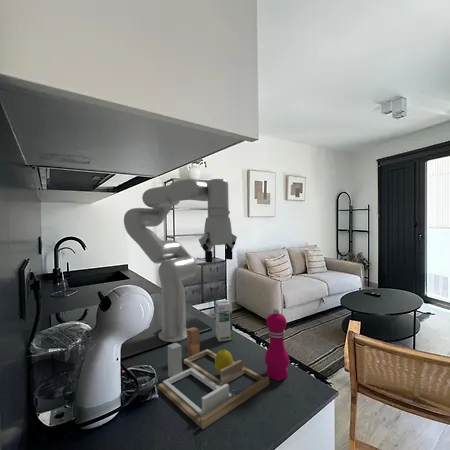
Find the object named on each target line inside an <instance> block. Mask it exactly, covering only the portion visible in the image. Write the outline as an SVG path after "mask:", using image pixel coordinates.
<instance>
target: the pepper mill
mask: <svg viewBox="0 0 450 450" xmlns="http://www.w3.org/2000/svg"><path fill="white" fill-rule="evenodd" d="M287 323H288V322H287V319H286V317H285V316H284V315H283V314H281V313H280V310H279V309H278V308H273V311H272V313H270V314H269V315H267V318H266V323H265V324H266V327H267V328H268V329H267V330H268V332H267V333H268V336H269V345H268V348H267V350H266V351H265V356H264V363H265V364H266V376H268V377H269V379H271V380H275V381H283V380H286V379H288V376H289V369H288V367H289V366H290V365H289V364H290V357H289V354H288V352H287V349H286V348H285V344H284V337H285V336H286V333H285V332H286V330H285V329H286V327H287Z"/></svg>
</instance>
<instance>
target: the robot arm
mask: <svg viewBox="0 0 450 450" xmlns="http://www.w3.org/2000/svg"><path fill="white" fill-rule="evenodd" d="M141 199H142V202H143V204H144V205H145V206H147V208H146V207H136V208H130V209H129V210H127V211H125V213H124V217H123V225H124V228H125V231H126V233H127V234H128V235H129V237H130V238H131V239H132V240H133V241H134V242H135V243H136V244H137V245H138V246H139V247H140V249H141V250H142V251H143V252H144V254H145V255H146V257H148V259H149V260H150V261H151V262H153V263H154V264H159V267H158V276H159V281H160V288H161V313H162V314H161V320H162V322H160V326H161V327H162V328H161V329H162V330H161V331H159V333H158V339H159V340H161V341H163V342H166V343H178V342H181V341H184V340H185V339H186V340H187V329H188V327H187V317H186V316H187V312H186V311H187V308H186V302H187V301H186V291H185V287H184V285H183V283H182V281H184V280H187V279H190V278H192V277H193V276H195V275H196V274H197V272H198V264H197V262H196V260H195V258H194V257H193V255H191V253H189V251H187V249H186V248H185V247H184V246H183V245H182V244H181V243H180V242H179V241H176V240H173V239H172V240H171V239H170V240H164V239H163V240H162V239H161V238H160V237H158V235H157V234H156V233H155V231H153V230H151V229H150V228H149V227H151V228H152V227H157V226H160V225H161V224H162V223H163V222H164V220H165V219H166V218H167V216H168V215H169V213H170V211H171V210H172V208H173V207H175V206H178V204H179V203H180V202H181V201H196V202H197V201H199V202H207V217H205V223H204V228H203V229H204V232H203V234H204V235H202V236H201V237H200V238H198V242H199V244H200V247H201V248H202V250H203V252H204V260H205V261H204V262H205V263H211V264H212V263H213V251H212V249H213V248H214V246H223V245H224V246H225V247H226V248H224V249H225V251H224V252H225V254H224V255H225V256H224V257H225V260H231V261H232V260H233V250H234V248H235V247H234V246H235V245H236V242H237V239H238V237H237V235H235V234H233V232H232V231H233V230H232V222H231V218H230V216H229V215H230V213H231V211H230V210H229V204H230V203H229V182H228V181H227V179H224V178H213V179H212V178H211V179H210V180H208V181H204V180H200V179H194V178H186V179H181V180H176V181H172V182H171V183H169V185H168V184H167V185H162V186H157V187H151V188H148V189H146V190H145V191H144V192H143V193H142V198H141Z"/></svg>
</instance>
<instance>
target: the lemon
mask: <svg viewBox="0 0 450 450" xmlns="http://www.w3.org/2000/svg"><path fill="white" fill-rule="evenodd" d="M216 354H217V355H216V357H215V359H214V367H215V371H216V372H217V373H218V374H219V375H220V370H221V369H223V368H225V367H227V366H228V365H230V364H232V363H233V361H234V360H233V356H232V353H231V352H230V351H229V350H226V349H225V348H224V349H221V350H219V351H218V352H217V353H216Z"/></svg>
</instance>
